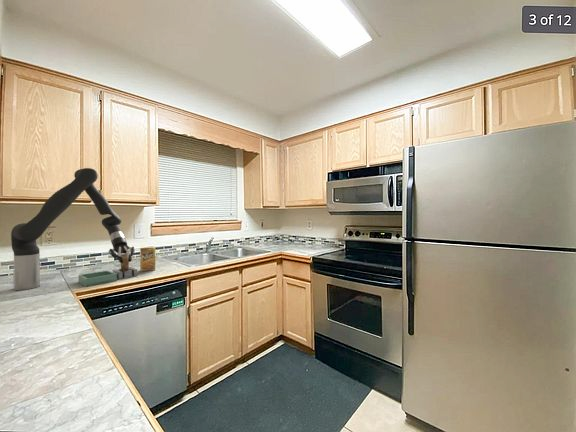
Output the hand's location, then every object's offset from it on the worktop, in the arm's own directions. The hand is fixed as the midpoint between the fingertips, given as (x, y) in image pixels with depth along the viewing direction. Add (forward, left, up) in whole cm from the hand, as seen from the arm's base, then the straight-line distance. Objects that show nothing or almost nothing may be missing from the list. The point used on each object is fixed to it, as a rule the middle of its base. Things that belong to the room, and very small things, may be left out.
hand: (126, 261), depth 152 cm
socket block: (0, +2, -9) cm, 9 cm away
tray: (-14, +1, -9) cm, 17 cm away
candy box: (+16, +8, -9) cm, 20 cm away
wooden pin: (0, +2, -9) cm, 9 cm away
